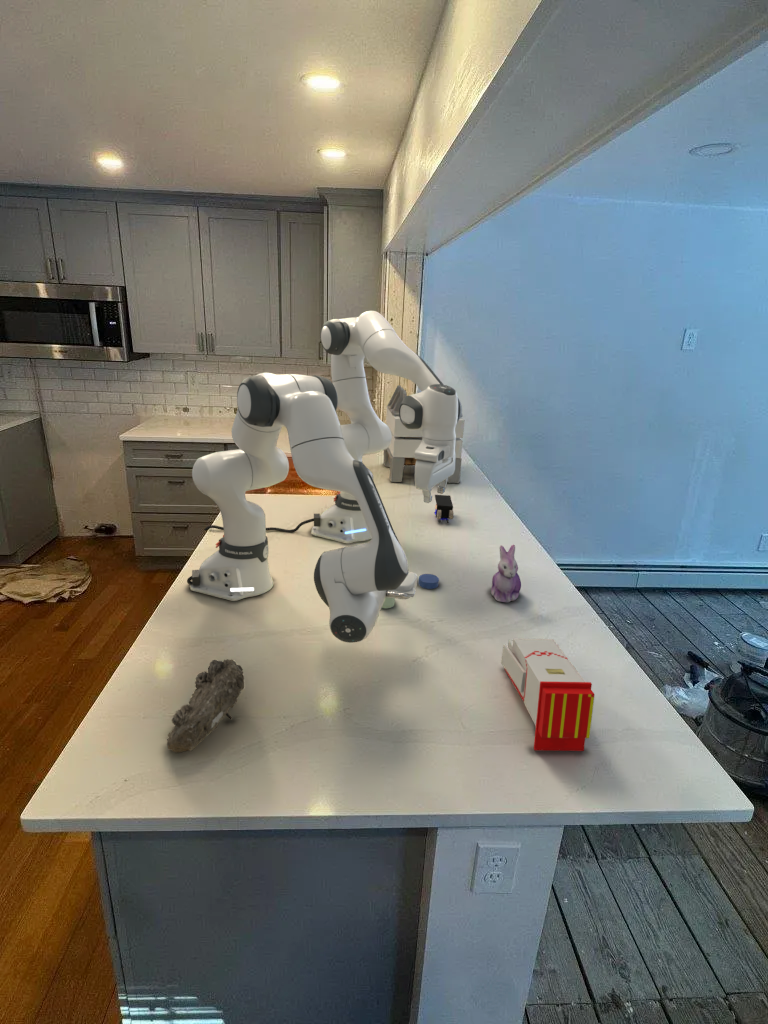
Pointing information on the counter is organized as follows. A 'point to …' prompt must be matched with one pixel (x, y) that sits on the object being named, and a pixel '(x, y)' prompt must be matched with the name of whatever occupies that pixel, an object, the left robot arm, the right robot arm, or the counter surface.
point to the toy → (550, 693)
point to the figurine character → (443, 508)
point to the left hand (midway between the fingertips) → (378, 565)
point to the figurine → (506, 577)
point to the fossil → (206, 705)
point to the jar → (388, 602)
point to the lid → (428, 581)
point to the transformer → (411, 441)
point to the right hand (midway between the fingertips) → (434, 497)
